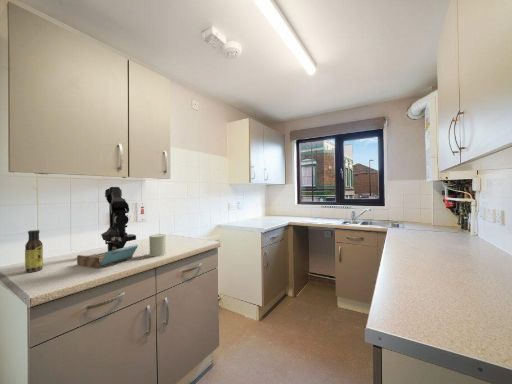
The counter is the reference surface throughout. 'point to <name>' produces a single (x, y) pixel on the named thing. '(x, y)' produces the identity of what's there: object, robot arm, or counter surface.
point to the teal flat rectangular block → (118, 254)
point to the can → (157, 245)
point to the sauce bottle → (33, 252)
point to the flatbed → (95, 260)
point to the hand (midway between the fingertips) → (119, 253)
